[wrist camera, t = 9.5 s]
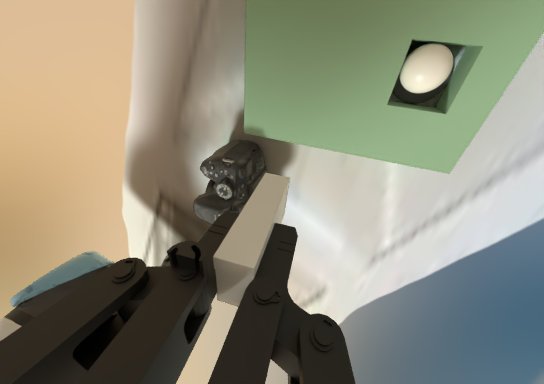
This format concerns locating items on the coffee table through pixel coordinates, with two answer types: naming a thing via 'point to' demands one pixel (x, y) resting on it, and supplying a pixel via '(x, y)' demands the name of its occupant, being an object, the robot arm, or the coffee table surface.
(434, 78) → the golf ball
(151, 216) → the coffee table surface
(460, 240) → the coffee table surface
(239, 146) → the camera
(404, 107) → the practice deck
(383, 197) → the coffee table surface
